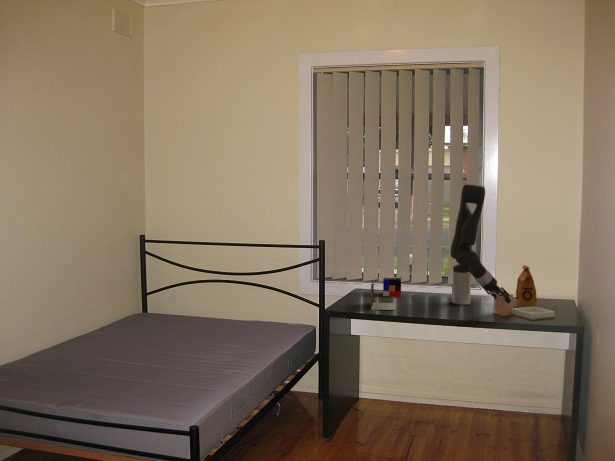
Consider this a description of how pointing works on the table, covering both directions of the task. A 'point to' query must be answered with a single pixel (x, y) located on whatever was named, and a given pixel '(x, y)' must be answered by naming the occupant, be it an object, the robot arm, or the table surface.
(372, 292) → the laptop
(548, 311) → the tray
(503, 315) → the candle holder
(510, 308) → the pink rounded block
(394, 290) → the puzzle toy
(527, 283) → the coffee package
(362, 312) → the table surface
